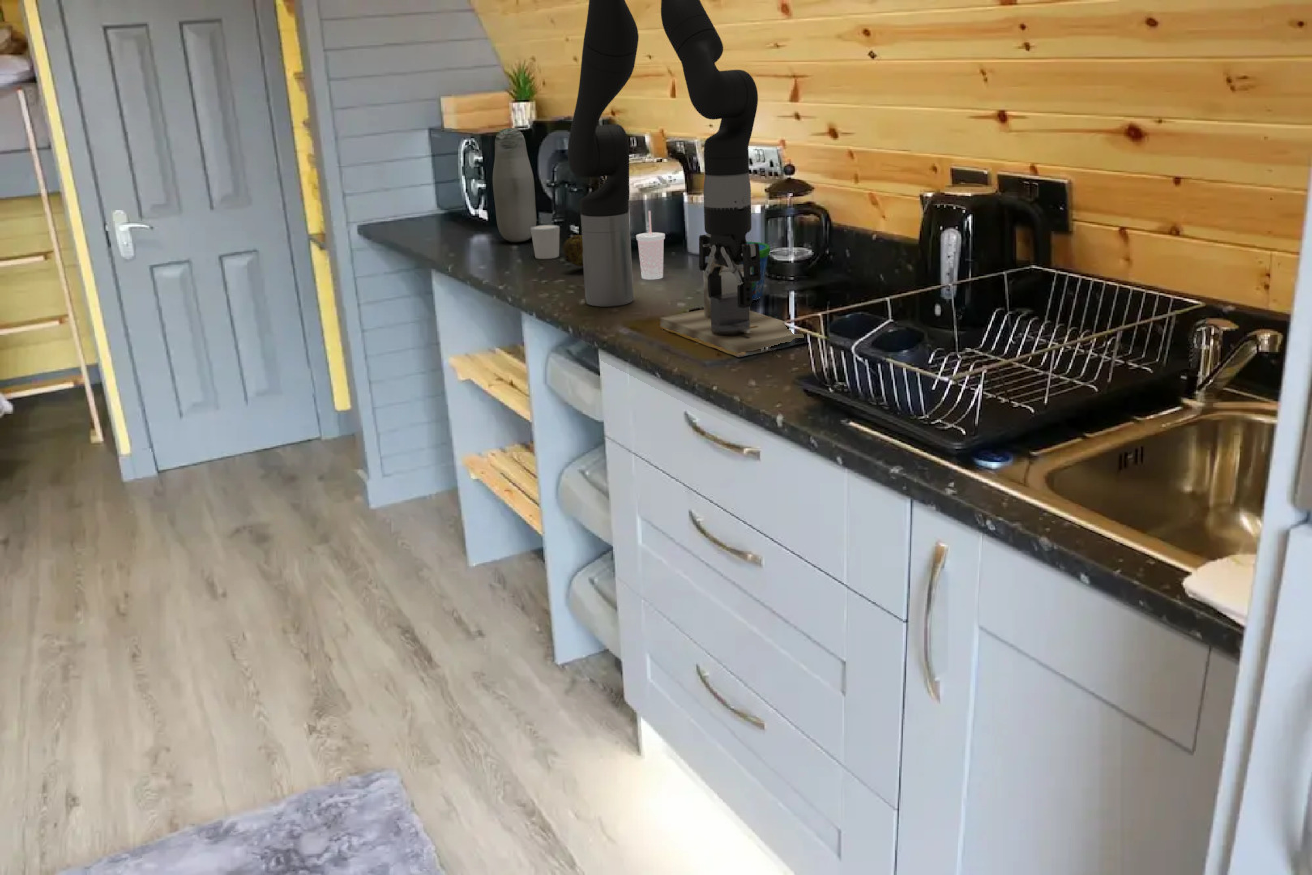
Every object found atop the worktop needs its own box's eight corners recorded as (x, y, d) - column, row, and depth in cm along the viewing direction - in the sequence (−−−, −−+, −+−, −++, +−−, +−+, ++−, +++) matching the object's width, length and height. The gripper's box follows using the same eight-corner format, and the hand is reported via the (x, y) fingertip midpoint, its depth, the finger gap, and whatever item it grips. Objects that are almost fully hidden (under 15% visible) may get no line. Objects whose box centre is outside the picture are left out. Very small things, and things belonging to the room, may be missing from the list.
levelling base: (660, 328, 196) (657, 266, 192) (730, 315, 203) (729, 254, 199) (738, 358, 177) (737, 289, 173) (813, 342, 184) (813, 275, 180)
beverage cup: (663, 280, 233) (661, 213, 229) (635, 280, 235) (631, 213, 230) (669, 274, 239) (666, 208, 234) (641, 274, 240) (638, 208, 235)
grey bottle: (493, 241, 286) (483, 128, 276) (531, 236, 290) (522, 125, 280) (505, 247, 277) (494, 131, 268) (543, 242, 281) (535, 128, 272)
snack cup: (754, 310, 206) (754, 255, 202) (702, 306, 210) (700, 253, 207) (781, 291, 219) (781, 240, 216) (731, 288, 223) (730, 238, 220)
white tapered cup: (560, 258, 260) (557, 228, 258) (530, 259, 260) (528, 230, 258) (563, 253, 267) (560, 223, 264) (534, 254, 267) (532, 225, 264)
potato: (626, 269, 246) (624, 233, 243) (570, 276, 241) (568, 239, 238) (613, 263, 253) (611, 227, 250) (559, 269, 248) (556, 233, 246)
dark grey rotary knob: (703, 329, 185) (702, 294, 183) (735, 323, 188) (734, 289, 186) (732, 340, 178) (731, 304, 176) (764, 333, 181) (764, 297, 179)
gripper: (683, 200, 181) (687, 298, 186) (733, 209, 169) (735, 313, 175) (722, 195, 184) (724, 292, 190) (773, 204, 173) (774, 306, 178)
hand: (729, 302), depth 182 cm, fingers open, 8 cm apart
